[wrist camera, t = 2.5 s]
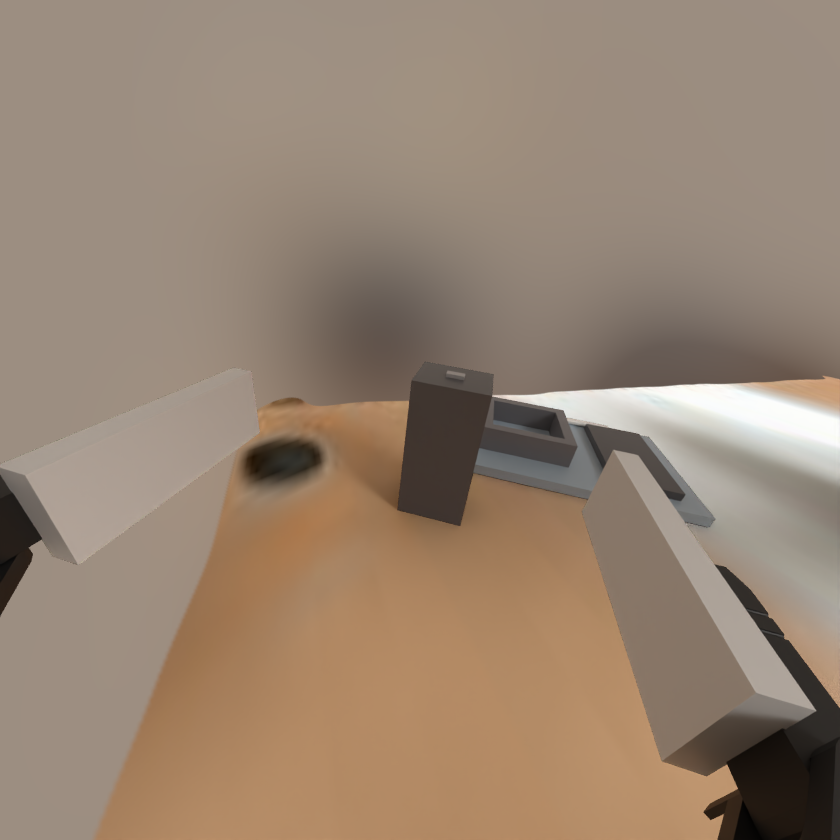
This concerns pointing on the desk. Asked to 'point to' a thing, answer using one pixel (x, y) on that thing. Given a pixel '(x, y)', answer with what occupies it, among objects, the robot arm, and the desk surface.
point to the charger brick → (443, 440)
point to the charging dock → (570, 454)
